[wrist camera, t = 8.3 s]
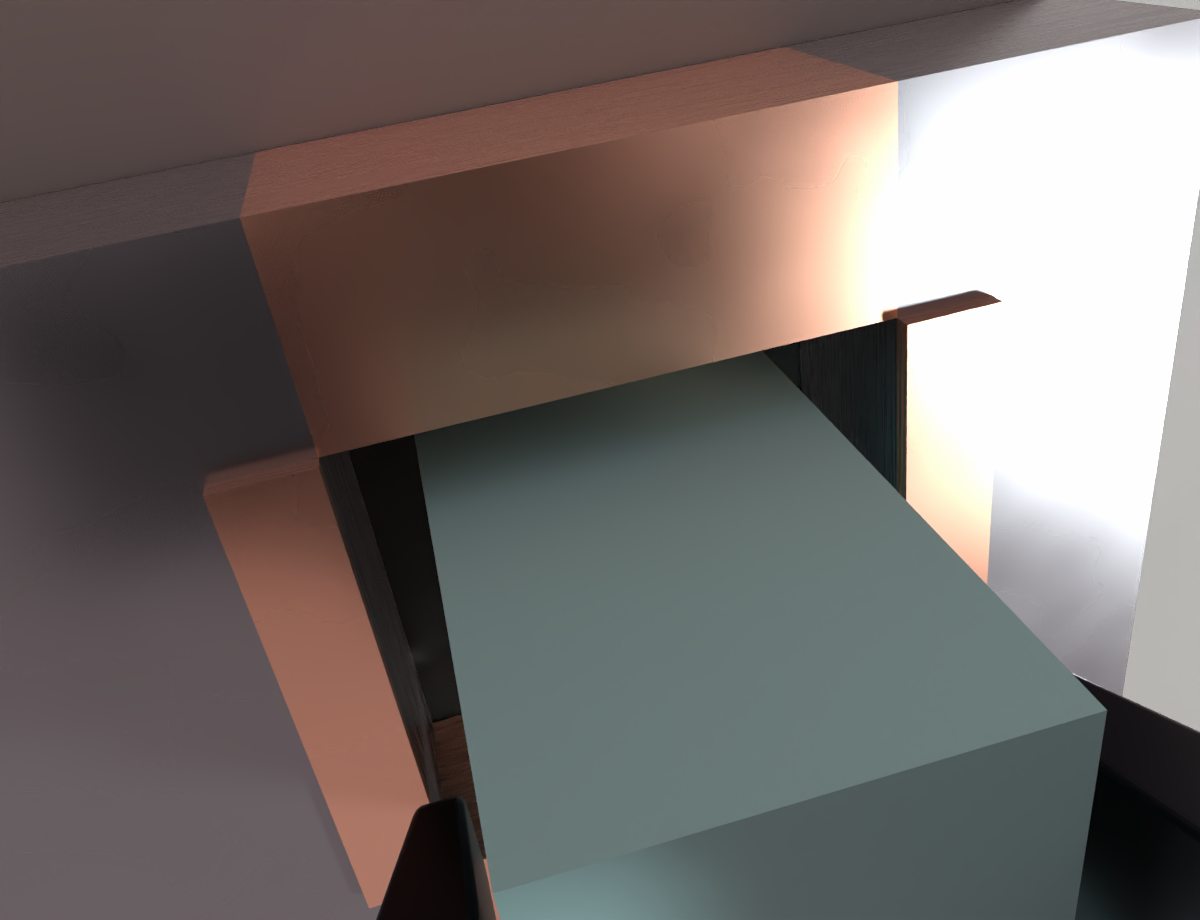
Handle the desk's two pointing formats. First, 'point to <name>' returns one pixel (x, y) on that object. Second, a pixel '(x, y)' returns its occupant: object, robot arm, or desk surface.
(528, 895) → the teal peg
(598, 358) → the peg board
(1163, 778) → the robot arm
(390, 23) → the desk surface
